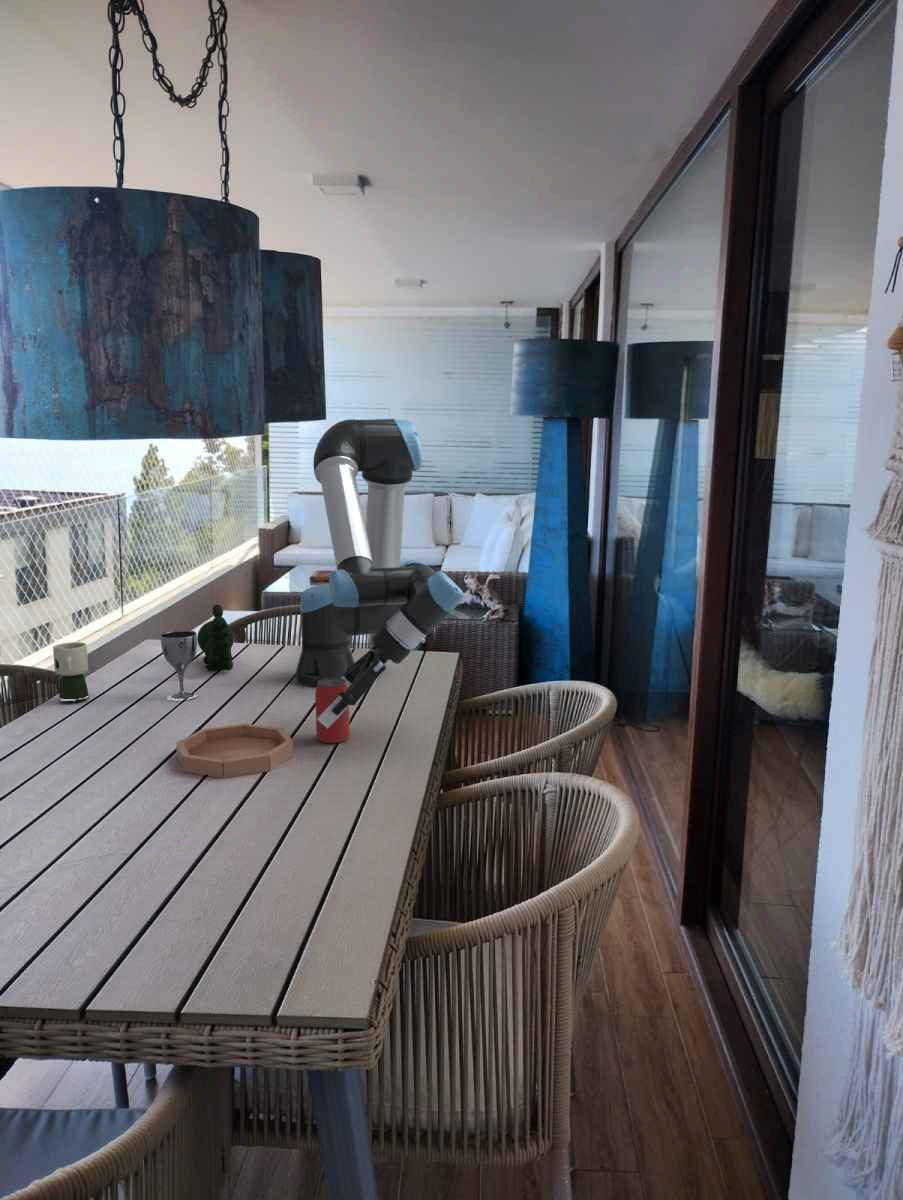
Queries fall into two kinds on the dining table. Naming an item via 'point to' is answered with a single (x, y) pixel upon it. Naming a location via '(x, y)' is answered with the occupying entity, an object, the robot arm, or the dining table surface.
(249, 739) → the terracotta saucer
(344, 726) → the beer can
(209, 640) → the toy figurine
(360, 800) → the dining table surface
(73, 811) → the dining table surface
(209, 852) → the dining table surface
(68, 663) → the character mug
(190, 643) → the wine glass
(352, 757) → the dining table surface
